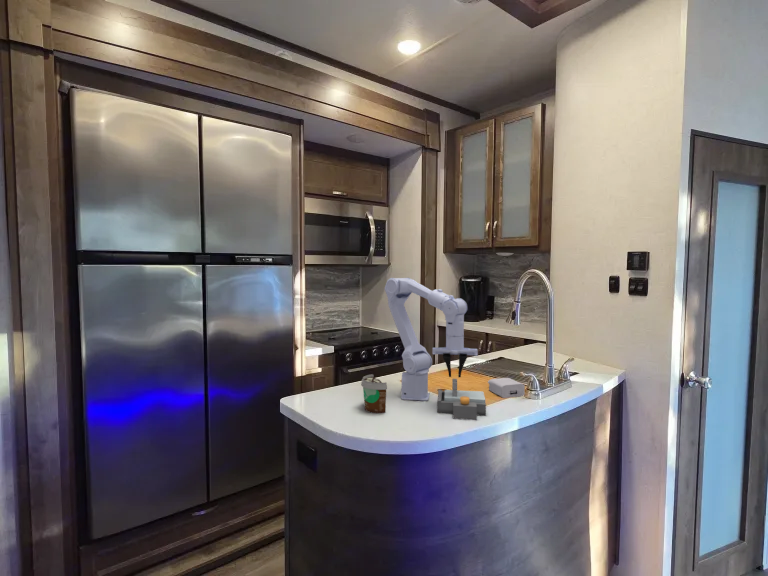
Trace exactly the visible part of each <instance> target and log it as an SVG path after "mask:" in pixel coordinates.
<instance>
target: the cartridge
mask: <svg viewBox="0 0 768 576" xmlns="http://www.w3.org/2000/svg"><path fill="white" fill-rule="evenodd" d="M451 383H452V389H444V391H445V396H444V401H449V402H453V401H456V402H460V397H462V396H466V397H469V402H475V403H486V398H485V393H484V391H482V390H481V391H480V390H479V391H478V390H458V378H452V382H451Z"/></svg>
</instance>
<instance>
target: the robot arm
mask: <svg viewBox="0 0 768 576" xmlns="http://www.w3.org/2000/svg"><path fill="white" fill-rule="evenodd" d="M384 292H385V294H386V297H387V305H388V308H389V310H390V313H391V316H392V318H393V320H394V323H395V324H394V325H395V327H396V329H397V332H398V334H399V337H400V339H401V343H402V345H403V348H404V350H403V352H402V354H401V358H402V364H403V365H402V366H403V368H404V370H405V371H403V372H402V373H401V383H400V384H401V389H400V393H401V398H400V399H401V400H403V401H404V400H406V401H407V400H408V401H409V400H410V401H422V402H423V401H426V402H427V401H429V399H430V392H429V387H428V386H429V374H428V373H429V371H430V368H431V367H432V365H433V359H432V356H431V354H430V353H429V352H428V351H427V349H426V347H425V346H423V345H422V344H420V343H419V340H418V338H417V334H416V333H415V329H414V327H413V324H412V323H411V320H410V317H409V315H408V311H407V309H406V307H405V303H406V302H407V301H408V299H410V296H411V295H412V293H413V294H415V295H417V296H419V297H422V298H424V299H426V300H427V301H428V305H430V306H432V307H434V308H436V309H438V310H440V311H442V313H443V314H444V318H445V319H444V320H445V326H446V327H445V346H444V347H432V355H442V358H443V360H444V362H445V366H446V368H447V372H448V378H452V369H451V368H452V365H451V363H452V361H451V359H452V358H451V357H452V355H456V356H457V355H458V371H457V372H458V375H457V376H458V378H462V371H463V368H464V365H465V363H466V361H467V359H468V356H476V357H478V354H479V353H478V351H479V349H478V348H472V347H471V348H469V347H465V344H464V343H465V342H464V341H465V335H464V333H465V314H466V313H467V311H468V304H467V302H466V301H465V300H464V299H463V298H460V297H457V298H455V297H454V295H453V294H448V293H445V292H444V290H443V289H442V288H438V289H429V287H426V286H425V285H423V284H420V282H417V281H416V280H415V279H413V278H410V277H390V278H388V279H387V281H386V283H385V286H384Z"/></svg>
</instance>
